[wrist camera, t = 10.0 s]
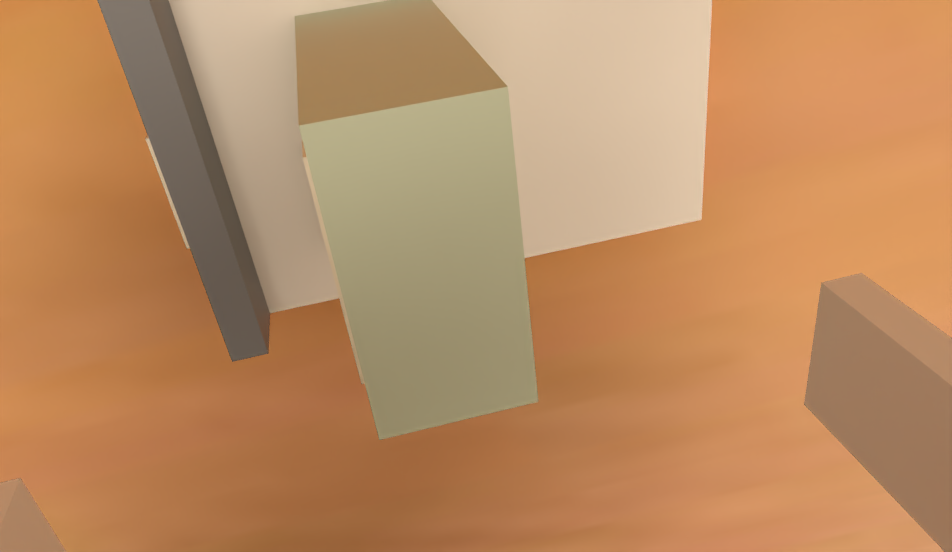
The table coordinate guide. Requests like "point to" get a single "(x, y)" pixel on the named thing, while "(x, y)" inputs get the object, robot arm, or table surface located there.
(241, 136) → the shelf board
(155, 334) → the table surface
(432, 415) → the tea tin
